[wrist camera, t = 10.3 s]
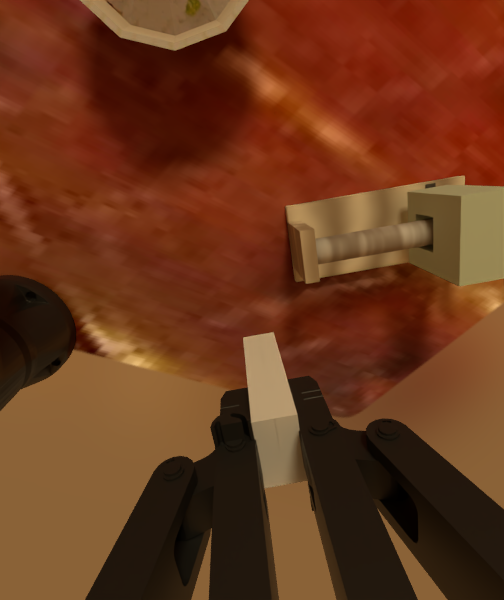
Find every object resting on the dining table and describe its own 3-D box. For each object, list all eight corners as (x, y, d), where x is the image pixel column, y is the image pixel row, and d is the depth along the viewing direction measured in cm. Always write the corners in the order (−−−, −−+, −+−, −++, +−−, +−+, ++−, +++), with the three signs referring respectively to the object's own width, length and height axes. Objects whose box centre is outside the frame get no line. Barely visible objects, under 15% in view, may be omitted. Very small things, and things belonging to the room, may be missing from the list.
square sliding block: (409, 262, 48) (459, 286, 38) (407, 191, 45) (461, 196, 35) (446, 256, 48) (507, 277, 38) (447, 184, 45) (513, 187, 35)
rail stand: (294, 279, 51) (308, 300, 42) (285, 206, 48) (297, 212, 39) (457, 251, 51) (503, 265, 42) (459, 176, 48) (509, 175, 39)
